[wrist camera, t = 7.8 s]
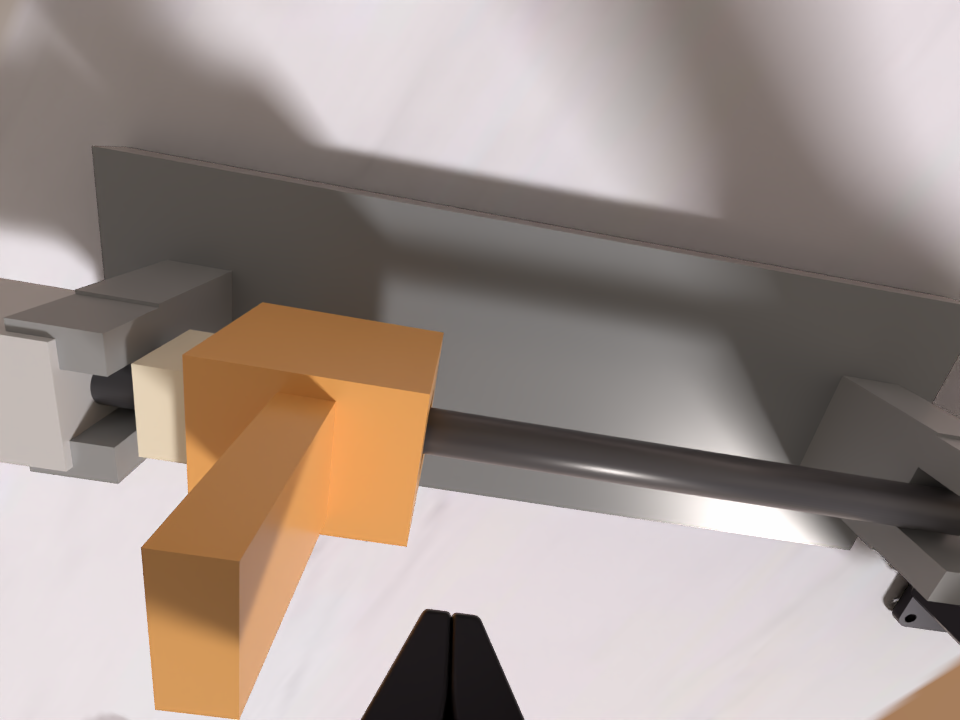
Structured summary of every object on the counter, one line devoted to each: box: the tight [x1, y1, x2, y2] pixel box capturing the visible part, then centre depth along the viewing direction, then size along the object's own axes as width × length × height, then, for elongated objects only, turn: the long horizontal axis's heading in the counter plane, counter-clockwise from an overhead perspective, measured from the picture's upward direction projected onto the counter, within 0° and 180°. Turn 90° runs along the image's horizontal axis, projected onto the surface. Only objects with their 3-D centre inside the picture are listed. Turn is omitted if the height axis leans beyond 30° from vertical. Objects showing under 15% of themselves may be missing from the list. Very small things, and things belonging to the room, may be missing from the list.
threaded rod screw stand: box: [0, 146, 960, 605], centre depth 15 cm, size 29×10×8 cm, turn 80°
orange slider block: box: [141, 302, 444, 720], centre depth 11 cm, size 5×4×8 cm
